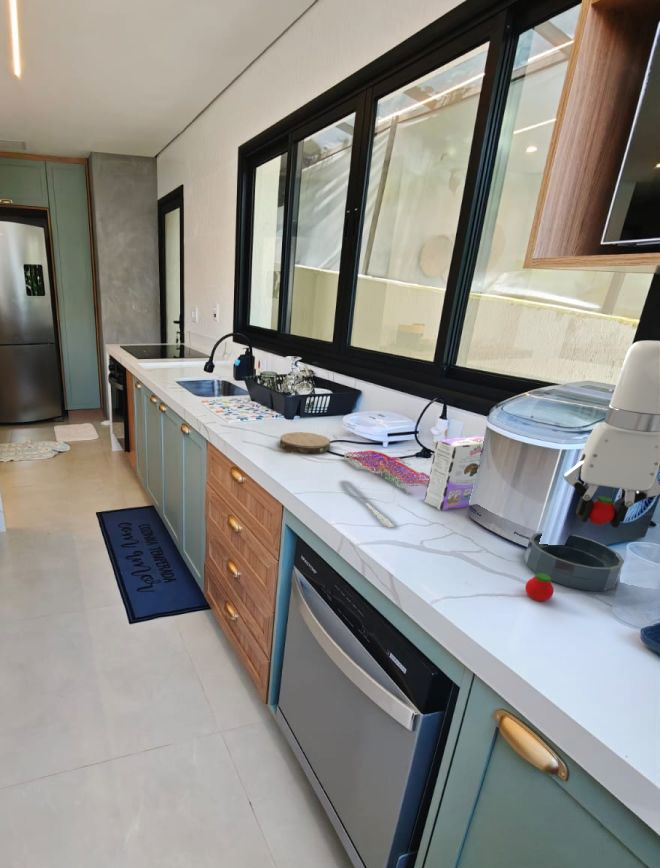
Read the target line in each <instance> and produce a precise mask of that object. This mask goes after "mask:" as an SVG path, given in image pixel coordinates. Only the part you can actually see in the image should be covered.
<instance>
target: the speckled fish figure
mask: <svg viewBox="0 0 660 868" xmlns="http://www.w3.org/2000/svg"><path fill="white" fill-rule="evenodd" d="M347 458H348V461H349V465H352V463H354V462H355V463H357V464H356V465H355V466H356V467H355V469H357V471H358V470H362V467H363V468H364V469H366V470H367V471H368V472H370V473H372V474H376V475H380V477H382V478H383V477H384V479H385V480H386V481H388V482H390V483H394V484H395V486H396V487H398V489H400V488H401V490H402V491H404V492H405V493H408V492H409V491H410V487H418V486H428V481H429V476H430V474H427V473H425V472H418V471H416V470H415V469H414V468H412V467H410V466H412V464H411V463H409V462H407V461H405V460H404V459H402V458H400V457H398V456H390V455H388V454H386V453H384V452H378V451H376V450H364V451H354V452H353V451H349V452H344V457H343V460H344V461H345V462H346V461H347ZM399 483H400V484H401V485H399Z"/></svg>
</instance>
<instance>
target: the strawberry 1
mask: <svg viewBox="0 0 660 868" xmlns="http://www.w3.org/2000/svg"><path fill="white" fill-rule="evenodd" d="M524 588H525V589H524V590H525V593H526V595H527V596H528V597H529V598H530V599H532V600H534V601H538V602H546V601H548V600H550V599H551V598H552V597H553V595H554V592H555V591H554V590H555V589H554V586H553V584H552V581H551V577H550V576H548V575H546V574H543V573H536V574H535V575H534V576H533V577H531V578H530V579H528V581H526V583H525V587H524Z"/></svg>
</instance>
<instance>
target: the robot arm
mask: <svg viewBox="0 0 660 868" xmlns="http://www.w3.org/2000/svg"><path fill="white" fill-rule="evenodd" d="M605 413H606V414H605V416H604V419H603V422H596V424H595V425H594V427H593V428H592V430H591V432H590V434H589V435H588V438H587V440H586V443H585V444H584V446H583V448H582V450H581V452H580V455H579V458H578V460H577V462H576V464H575V465H574V466H573V467H571V468H570V469H569V470H567V472H565V473H564V474H563V475H562V479H564V481H565V482H567V484H568V485H570V486H572V487H573V488H574V489H575V490H576V491H577V493H578V494H579V495H580V498H579V501H578V503H577V506H576V509H575V515H576V516H577V517H578V518H579V520H580V522H582V523H587V522H588V520H589V518H588V517H589V514H590V512H591V509H592V506H593V502H594V501H593V496H594V495H595V493H596V491H597V490H598V488H599V487H600V486H601V487H608V488H615V489H620V495H619V498H618V499H616V500H615V501H613V506H614V509H615V516H614V518H613V519H612V520H611V521H609V522H608V523H609V524H610V525H611V527H613V528H617V529H618V528H619V526H620V523H623V522H624V521H625V518H626V516H627V514H628V510H629V508H632V507H633V506H634V505H635V504H637V503H639V502H641V501H643V500H646V499H647V498H651V497H655V496H659V495H660V482H659V480H658V477H657V475H658V473H659V469H660V340H638V341H635V342H633V343H632V344H631V345H630V347H629V348H628V350H627V352H626V355H625V357H624V360H623V363H622V367H621V369H620V372H619V376H618V378H617V381H616V384H615V387H614V390H613V393H612V397H611V399H610V401H609V405H608V407H607V411H606V412H605ZM579 476H580V480H581V481H583V482H584V483H583V484H582V482H581V481H580V480H578V478H577V477H579Z"/></svg>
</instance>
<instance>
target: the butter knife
mask: <svg viewBox="0 0 660 868" xmlns="http://www.w3.org/2000/svg"><path fill="white" fill-rule="evenodd" d="M365 505H366V506H367V507H368V509H370V511H371V512H372V514H374V516H375V517H376V518H377V519H378V520H379V521H380V522H381V523H382V524H383V525H384V526H385V527H386V528H394V527H395V526H394V523H392V521H390V520H389V519H388V518H387V517H386V516H385V515H383V514H382V513H381V512H380V511H378V510H377V509H375V507H373V506H372V505H371V504H370V503H368V502H365Z"/></svg>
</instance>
